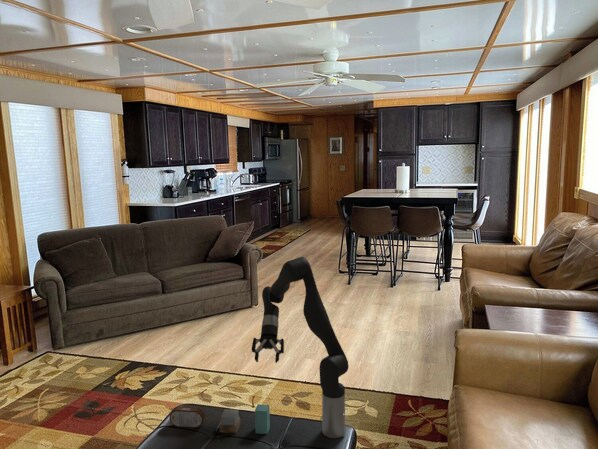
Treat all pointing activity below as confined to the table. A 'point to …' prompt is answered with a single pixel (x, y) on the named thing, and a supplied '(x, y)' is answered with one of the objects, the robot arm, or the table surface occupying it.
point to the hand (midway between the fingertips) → (266, 361)
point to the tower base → (230, 427)
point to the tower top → (229, 417)
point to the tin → (187, 417)
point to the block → (262, 419)
